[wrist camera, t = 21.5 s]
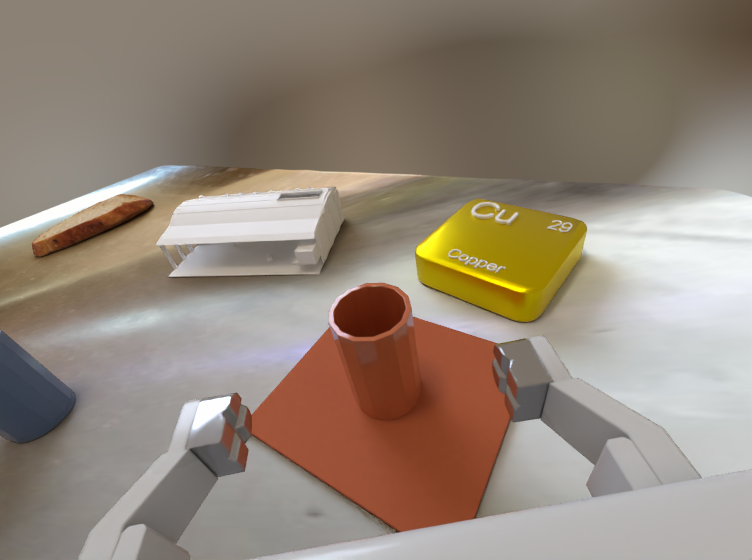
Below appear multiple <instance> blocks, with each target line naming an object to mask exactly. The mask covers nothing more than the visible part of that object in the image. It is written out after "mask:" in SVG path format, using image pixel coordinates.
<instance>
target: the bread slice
mask: <svg viewBox="0 0 752 560" xmlns="http://www.w3.org/2000/svg"><path fill="white" fill-rule="evenodd" d="M151 205H153V202H152V201H151V200H149V199H146V198H143V197H139V196H135V195H125V194H120V195H117V196H115V197H113V198H110V199H108V200H105V201H102V202H99V203H97V204H95V205H93V206H91V207H89V208H87V209H85V210H82V211H81V212H78V213H77V214H75V215H73V216H72V217H70V218H68V219H66V220H64V221H63V222H61V223H59V224H57V225H56V226H54V227H52V228H50V229H49V230H48V231H46V232H45V233H43V234H42V235H40V236H39V237H37V238H36V239H35V240H34V241H33V242H32V249H33V253H34V255H36V256H44V255H47V254H50V253H52V252H55V251H58V250H60V249H63V248H67V247H69V246H71V245H73V244H76V243H78V242H80V241H83V240H85V239H88V238H90V237H92V236H95V235H98V234H100V233H102V232H104V231H106V230H109V229H111V228H112V227H114V226H117V225H120V224H121V223H123V222H125V221H128V220H130V219H131V218H133V217H134V216H136V215H138V214H141V213H143V212H144V211H146V210H147V209H148V208H149V207H150V206H151Z"/></svg>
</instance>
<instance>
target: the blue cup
mask: <svg viewBox="0 0 752 560" xmlns="http://www.w3.org/2000/svg"><path fill="white" fill-rule="evenodd" d="M74 403H75V394H74V392H73V391H72V390H71V389H69V388H68V387H67V386H66V385H65V384H64V383H63V382H61V381H60V380H59V379H58V378H57V377H56V376H54V375H53V374H52V373H51V372H50V371H49V370H47V369H46V368H45V367H44V366H43V365H42V364H40V363H39V362H38V361H37V360H36V359H35V358H33V357H32V356H31V355H30V354H29V353H28V352H26V351H25V350H24V349H23V348H22V347H21V346H19V345H18V344H17V343H16V342H15V341H14V340H12V339H11V338H10V337H9V336H8V335H7V334H5V333H4V332H3V331H2V330H1V329H0V436H2V437H3V438H5V439H7V440H10V441H12V442H14V443H25V442H29V441H32V440H34V439H36V438H38V437H40V436H42V435H44V434H46V433H47V432H49V431H50V430H52V429H53V428H54V427H55V426H57V425H58V424H59V423H60V422H61V421H62V420H63V419H64V418H65V417H66V416H67V415H68V413H69V412H70V410H71V409H72V407H73V405H74Z"/></svg>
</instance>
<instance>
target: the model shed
mask: <svg viewBox="0 0 752 560" xmlns="http://www.w3.org/2000/svg"><path fill="white" fill-rule="evenodd" d="M199 198H200V199H191V200H188V201H183V203H182V204H181V205H180V206H177V208H176V210H175V211H174V213H172V215H173V216H172V219H171V222H170V225H169V227H168V228H167V230H166V231H165V232H164V233H163V235H162V236H161V237H160V238H159V240H158V242H157V244H156V245H159V246H160V248H161V249H162V251H163V252H164V254H165V256H166V257H167V259H168V260H169V262H170V264H171V265H172V267H173V268H174V269H175V270H174V271H173V272H172V273H171V274H170V275H169V276H168V277H182V276H237V275H291V274H319V273H320V271H321V268H322V266H323V264H324V262H325V261H326V259H327V257H328V253H329V251H330V248H331V247H332V245H333V243H334V239H335V237H336V235H337V234H338V232H339V230H340V226H341V224H342V223H343V221H344V215H343V211H342V207H341V203H340V198H339V194H338V190H336V187H328V188H314V189H312V187H309V188H308V189H301V190H299V188H296V189H295V190H288V191H274V192H273V190H269V192H261V193H257V192H253V193H248V194H242V193H238V194H234V195H229V194H225V195H221V196H207V197H204V195H200V196H199ZM180 244H186V246H187V247H188V249H189V251H190V252H191V253H190V254H189V255H188V256H187V257H186V256H185V254H184V252H183V251H182V249H181V247H180V246H179V245H180ZM191 244H197V246H196V247H195V249H194V250H193V248H192V246H191ZM164 245H174V246H175V247H176V249H177V251H178V252H179V254H180V256H181V257H182V259H184V260H183V261H182V262H181V263H180V265H179V266H178V267H177V265H176V263H175V262H174V260H173V259H172V257H171V255H170V254H169V252H168V251H167V249H166V247H165V246H164Z"/></svg>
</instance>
